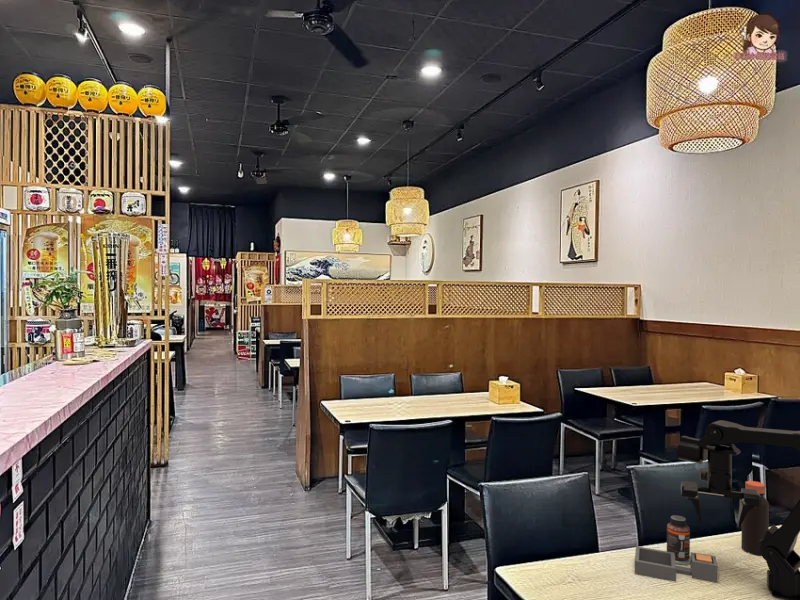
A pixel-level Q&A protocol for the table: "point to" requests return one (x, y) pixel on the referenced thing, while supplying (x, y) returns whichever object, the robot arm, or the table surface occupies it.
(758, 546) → the vinegar
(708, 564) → the holder
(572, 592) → the table surface
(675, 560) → the coaster
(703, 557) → the orange-brown cube
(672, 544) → the supplement bottle
